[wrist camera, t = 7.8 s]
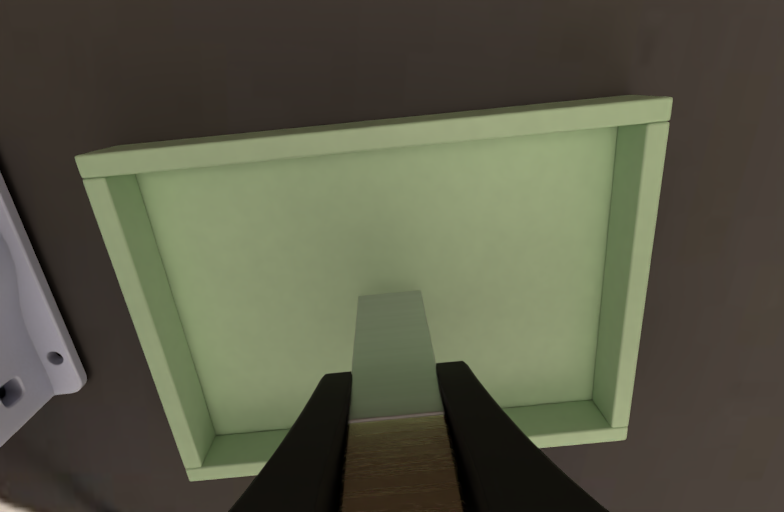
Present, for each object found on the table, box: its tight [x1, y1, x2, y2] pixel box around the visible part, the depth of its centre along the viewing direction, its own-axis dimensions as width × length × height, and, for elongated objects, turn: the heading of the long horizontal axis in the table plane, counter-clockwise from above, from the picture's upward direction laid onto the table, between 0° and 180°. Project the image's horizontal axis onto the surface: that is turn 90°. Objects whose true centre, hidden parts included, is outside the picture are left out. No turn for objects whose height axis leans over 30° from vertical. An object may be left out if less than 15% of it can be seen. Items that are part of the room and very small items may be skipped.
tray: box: [75, 95, 673, 481], centre depth 14 cm, size 11×15×2 cm
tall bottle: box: [338, 290, 467, 512], centre depth 8 cm, size 2×2×10 cm
